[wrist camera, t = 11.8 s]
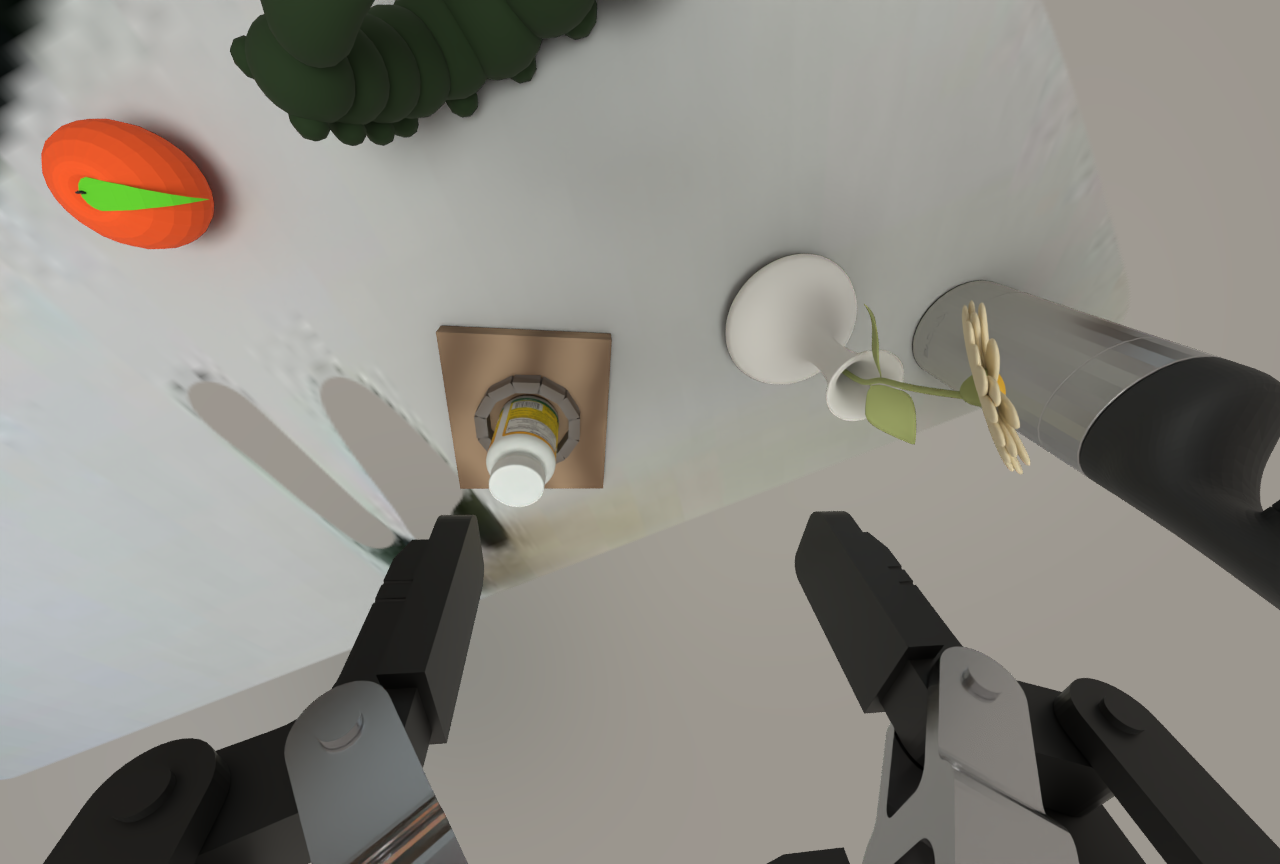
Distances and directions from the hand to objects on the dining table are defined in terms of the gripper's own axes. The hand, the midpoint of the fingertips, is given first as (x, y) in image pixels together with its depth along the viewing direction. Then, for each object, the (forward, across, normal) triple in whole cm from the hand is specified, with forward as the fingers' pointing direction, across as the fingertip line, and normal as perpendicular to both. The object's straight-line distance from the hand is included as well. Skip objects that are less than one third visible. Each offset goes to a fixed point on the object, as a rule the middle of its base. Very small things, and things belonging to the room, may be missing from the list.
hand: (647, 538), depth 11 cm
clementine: (+30, +28, -4) cm, 41 cm away
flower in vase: (+30, -16, +3) cm, 34 cm away
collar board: (+30, +6, +14) cm, 33 cm away
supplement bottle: (+29, +6, +14) cm, 32 cm away
